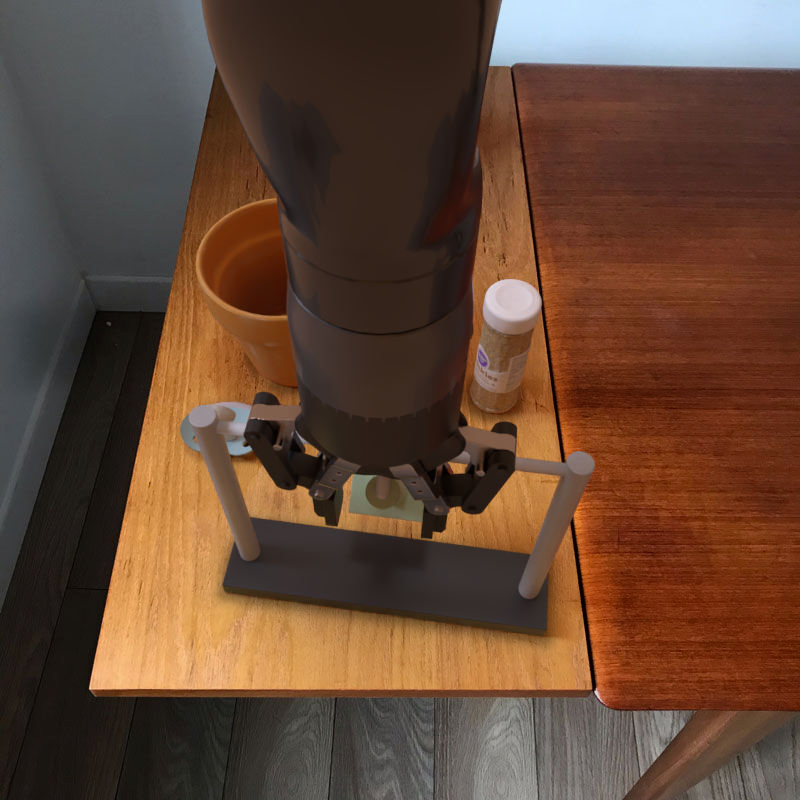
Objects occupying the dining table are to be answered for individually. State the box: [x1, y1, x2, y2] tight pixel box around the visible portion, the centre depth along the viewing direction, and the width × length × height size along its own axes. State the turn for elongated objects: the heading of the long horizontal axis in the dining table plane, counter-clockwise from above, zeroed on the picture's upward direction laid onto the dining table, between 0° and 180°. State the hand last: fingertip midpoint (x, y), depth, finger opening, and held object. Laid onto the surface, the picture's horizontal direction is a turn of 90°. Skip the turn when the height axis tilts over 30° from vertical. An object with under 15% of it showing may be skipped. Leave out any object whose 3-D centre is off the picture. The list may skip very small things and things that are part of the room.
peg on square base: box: [348, 474, 424, 523], centre depth 51 cm, size 6×7×15 cm
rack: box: [189, 404, 596, 637], centre depth 53 cm, size 25×6×21 cm, turn 82°
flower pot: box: [195, 197, 298, 387], centre depth 69 cm, size 14×14×13 cm
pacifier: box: [179, 401, 253, 457], centre depth 67 cm, size 7×6×6 cm
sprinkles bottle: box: [469, 278, 543, 414], centre depth 66 cm, size 5×5×14 cm
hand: (381, 517), depth 47 cm, fingers open, 5 cm apart
